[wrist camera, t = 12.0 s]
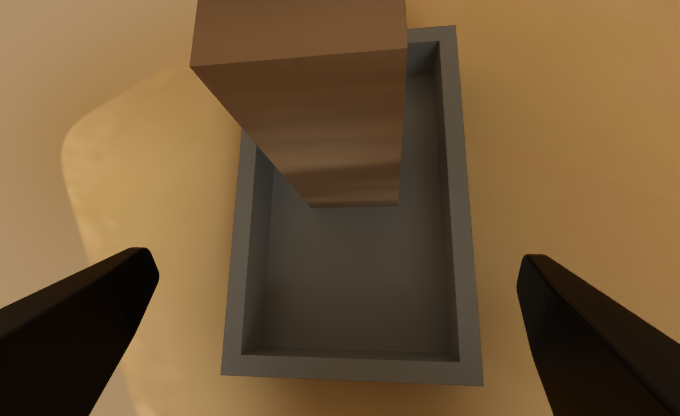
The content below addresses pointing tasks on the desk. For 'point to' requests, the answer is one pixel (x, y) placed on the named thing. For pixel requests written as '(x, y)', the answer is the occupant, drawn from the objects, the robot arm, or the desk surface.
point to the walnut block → (313, 89)
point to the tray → (363, 257)
